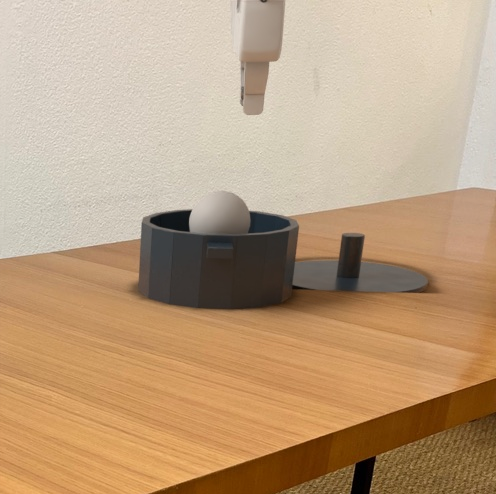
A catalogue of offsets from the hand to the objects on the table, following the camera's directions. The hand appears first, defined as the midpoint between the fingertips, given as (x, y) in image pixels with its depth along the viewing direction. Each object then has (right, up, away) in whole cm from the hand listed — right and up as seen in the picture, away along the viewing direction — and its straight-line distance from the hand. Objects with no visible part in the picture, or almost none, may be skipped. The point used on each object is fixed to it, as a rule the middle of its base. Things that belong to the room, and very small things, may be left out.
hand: (250, 110), depth 101 cm
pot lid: (+15, -13, +15) cm, 25 cm away
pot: (-2, -17, +9) cm, 19 cm away
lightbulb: (-2, -17, +9) cm, 19 cm away
